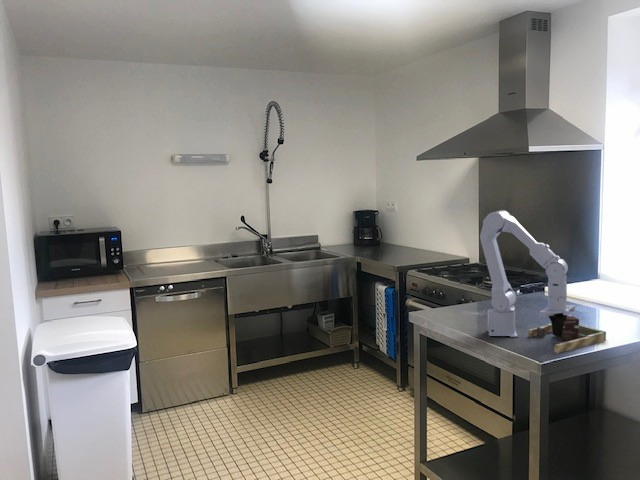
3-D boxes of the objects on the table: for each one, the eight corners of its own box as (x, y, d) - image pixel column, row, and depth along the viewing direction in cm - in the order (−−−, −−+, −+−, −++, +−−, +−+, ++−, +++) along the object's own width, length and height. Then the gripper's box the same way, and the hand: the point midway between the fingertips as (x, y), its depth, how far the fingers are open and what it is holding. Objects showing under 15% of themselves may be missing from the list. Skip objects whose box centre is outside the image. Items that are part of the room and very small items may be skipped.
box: (560, 340, 178) (561, 319, 177) (552, 335, 183) (553, 314, 183) (578, 340, 177) (579, 319, 177) (570, 335, 183) (571, 314, 183)
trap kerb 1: (542, 337, 183) (542, 329, 182) (536, 335, 185) (536, 327, 184) (544, 336, 183) (544, 328, 183) (539, 335, 185) (539, 326, 185)
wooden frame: (557, 353, 166) (557, 344, 166) (515, 339, 182) (515, 331, 181) (605, 340, 176) (606, 331, 176) (562, 328, 191) (562, 320, 191)
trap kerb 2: (583, 344, 173) (583, 336, 173) (577, 343, 175) (577, 334, 175) (586, 344, 174) (586, 335, 173) (580, 342, 175) (580, 333, 175)
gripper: (551, 301, 170) (551, 342, 171) (582, 294, 176) (582, 334, 177) (534, 297, 176) (534, 336, 178) (564, 291, 182) (565, 329, 184)
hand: (557, 335), depth 178 cm, fingers closed, pressing on box
